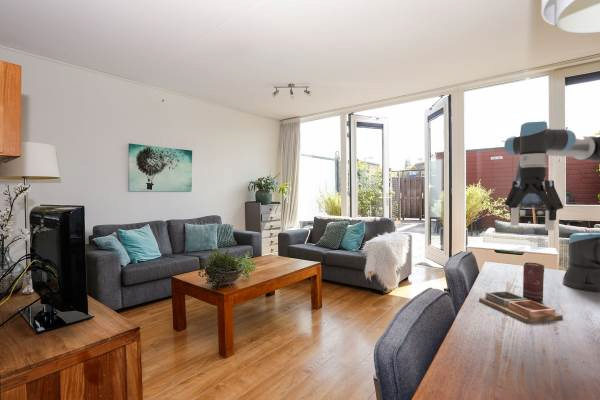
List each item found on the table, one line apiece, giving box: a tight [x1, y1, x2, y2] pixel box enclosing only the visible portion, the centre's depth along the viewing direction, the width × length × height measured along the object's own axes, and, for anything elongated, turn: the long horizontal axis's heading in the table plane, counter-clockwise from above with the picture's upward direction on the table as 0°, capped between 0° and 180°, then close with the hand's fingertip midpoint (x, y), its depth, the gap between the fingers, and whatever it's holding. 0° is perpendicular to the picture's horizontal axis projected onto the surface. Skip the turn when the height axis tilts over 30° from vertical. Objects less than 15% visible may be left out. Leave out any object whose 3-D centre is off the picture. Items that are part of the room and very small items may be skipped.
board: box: [478, 290, 564, 324], centre depth 113 cm, size 14×20×3 cm
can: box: [522, 262, 545, 304], centre depth 121 cm, size 6×6×14 cm
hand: (531, 227), depth 113 cm, fingers open, 13 cm apart
